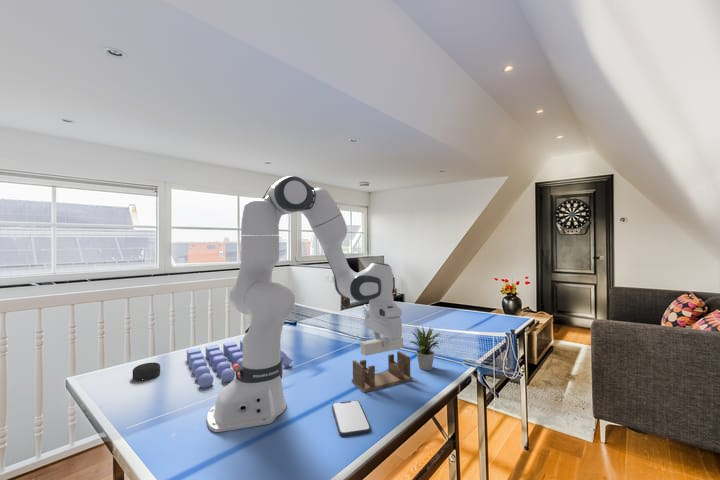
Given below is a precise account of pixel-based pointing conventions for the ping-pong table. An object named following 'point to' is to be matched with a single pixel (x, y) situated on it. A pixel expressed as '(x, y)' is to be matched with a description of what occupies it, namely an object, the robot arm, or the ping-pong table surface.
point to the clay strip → (379, 346)
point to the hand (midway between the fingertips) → (381, 345)
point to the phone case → (350, 418)
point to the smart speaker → (146, 371)
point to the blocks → (219, 362)
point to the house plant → (425, 348)
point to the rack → (372, 381)
